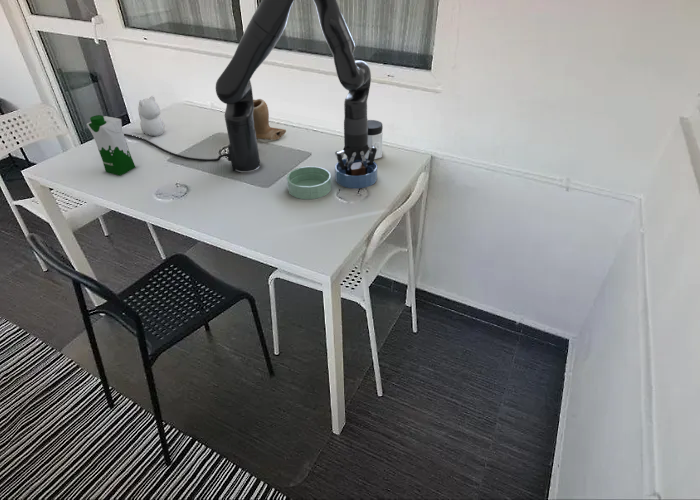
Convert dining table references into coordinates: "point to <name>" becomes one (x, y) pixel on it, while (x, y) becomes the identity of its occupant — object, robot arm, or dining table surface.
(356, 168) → the walnut block
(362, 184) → the blue bowl
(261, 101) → the tan boot
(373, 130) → the jar
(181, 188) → the dining table surface
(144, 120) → the cat figurine
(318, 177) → the celadon bowl
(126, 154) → the milk carton
